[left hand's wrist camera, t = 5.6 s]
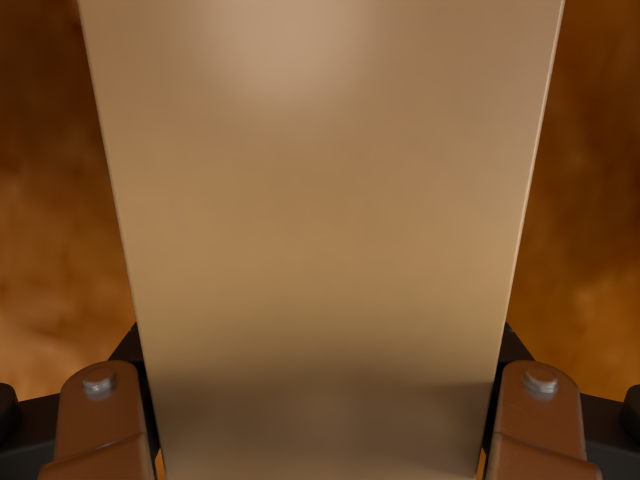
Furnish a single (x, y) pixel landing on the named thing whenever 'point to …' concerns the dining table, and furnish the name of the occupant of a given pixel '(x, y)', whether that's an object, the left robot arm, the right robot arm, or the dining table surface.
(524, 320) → the dining table surface
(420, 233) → the box
